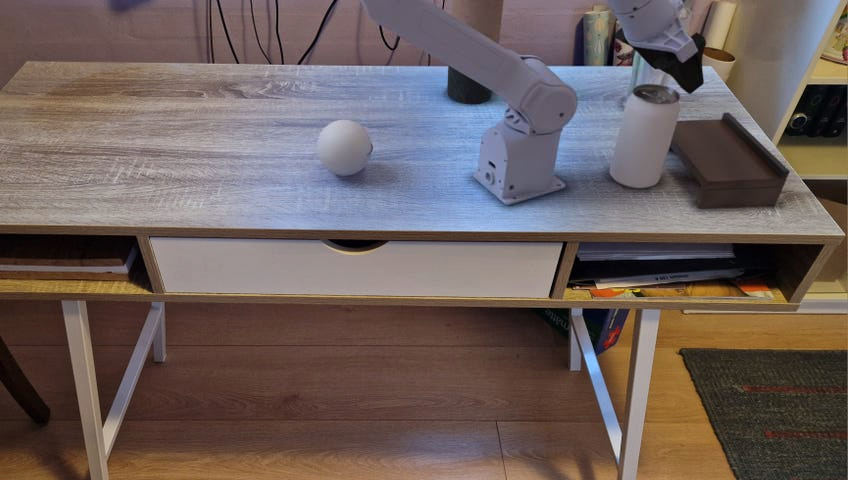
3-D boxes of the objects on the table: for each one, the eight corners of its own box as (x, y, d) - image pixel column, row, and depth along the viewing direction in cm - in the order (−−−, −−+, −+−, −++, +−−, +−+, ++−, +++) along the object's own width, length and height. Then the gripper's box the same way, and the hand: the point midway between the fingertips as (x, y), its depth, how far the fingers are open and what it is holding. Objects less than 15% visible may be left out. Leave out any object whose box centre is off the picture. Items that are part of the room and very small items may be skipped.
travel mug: (487, 107, 110) (502, -25, 98) (440, 101, 112) (449, -30, 100) (496, 88, 116) (512, -40, 103) (451, 82, 118) (461, -45, 105)
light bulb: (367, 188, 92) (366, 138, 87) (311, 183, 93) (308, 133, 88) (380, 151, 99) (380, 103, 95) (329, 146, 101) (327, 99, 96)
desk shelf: (698, 208, 88) (710, 174, 85) (649, 146, 101) (658, 114, 98) (775, 205, 89) (790, 171, 86) (717, 144, 101) (728, 112, 98)
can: (639, 161, 97) (662, 79, 90) (669, 185, 93) (695, 100, 85) (599, 169, 96) (618, 86, 88) (627, 193, 91) (650, 108, 83)
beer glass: (668, 118, 107) (697, 20, 98) (621, 114, 108) (645, 16, 99) (663, 99, 113) (689, 4, 103) (618, 95, 114) (640, 1, 104)
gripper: (703, -11, 74) (742, 76, 82) (632, -48, 85) (673, 32, 93) (645, 36, 76) (689, 116, 84) (583, -6, 87) (627, 69, 95)
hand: (677, 75), depth 89 cm, fingers open, 7 cm apart
